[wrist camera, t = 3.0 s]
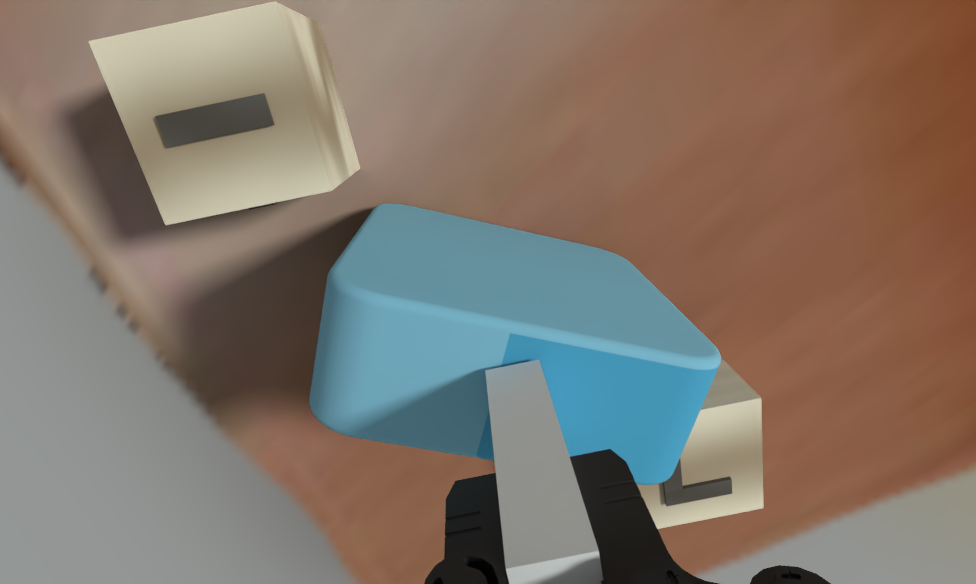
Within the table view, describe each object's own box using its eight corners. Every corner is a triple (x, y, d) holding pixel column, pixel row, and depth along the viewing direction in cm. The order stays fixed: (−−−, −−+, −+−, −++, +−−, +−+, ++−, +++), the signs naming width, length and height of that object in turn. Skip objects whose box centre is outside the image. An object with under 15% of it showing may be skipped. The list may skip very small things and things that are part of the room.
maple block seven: (585, 360, 29) (618, 429, 23) (700, 337, 28) (763, 400, 23) (599, 455, 31) (633, 540, 25) (707, 434, 31) (765, 514, 25)
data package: (363, 287, 26) (294, 431, 15) (379, 197, 25) (315, 283, 14) (595, 334, 28) (688, 496, 17) (622, 252, 27) (745, 370, 15)
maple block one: (175, 54, 23) (77, 42, 17) (320, 24, 22) (272, 0, 17) (229, 200, 25) (159, 233, 19) (361, 172, 25) (332, 197, 19)
